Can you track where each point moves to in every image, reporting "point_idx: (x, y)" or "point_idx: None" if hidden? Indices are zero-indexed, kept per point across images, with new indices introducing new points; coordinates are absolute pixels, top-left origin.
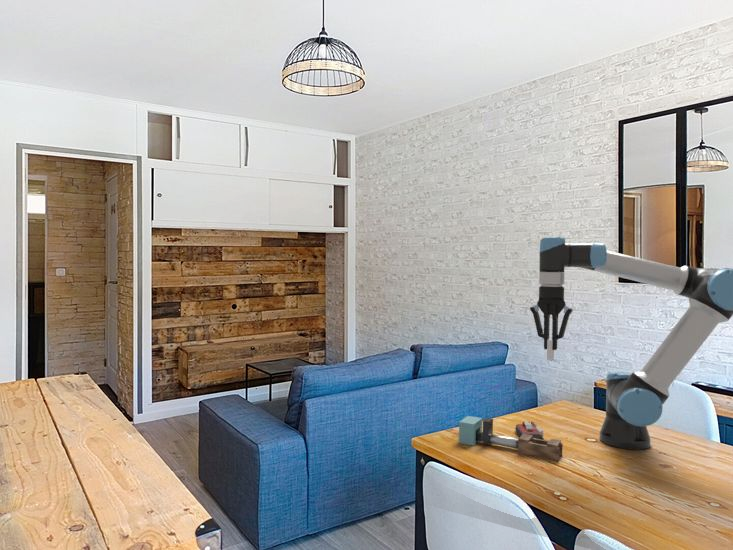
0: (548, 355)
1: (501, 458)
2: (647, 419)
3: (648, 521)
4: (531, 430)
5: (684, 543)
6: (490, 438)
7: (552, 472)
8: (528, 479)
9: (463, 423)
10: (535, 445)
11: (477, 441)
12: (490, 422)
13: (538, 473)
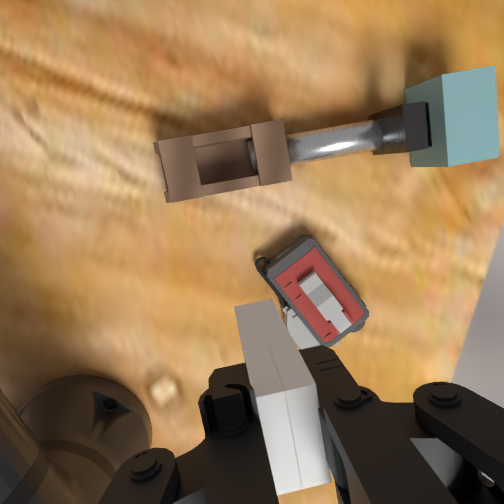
0: (266, 314)
1: (294, 46)
2: None
3: None
4: (303, 278)
5: None
6: (373, 119)
7: (132, 41)
8: None
9: (477, 69)
10: (226, 130)
11: None
12: (400, 123)
13: (158, 3)
